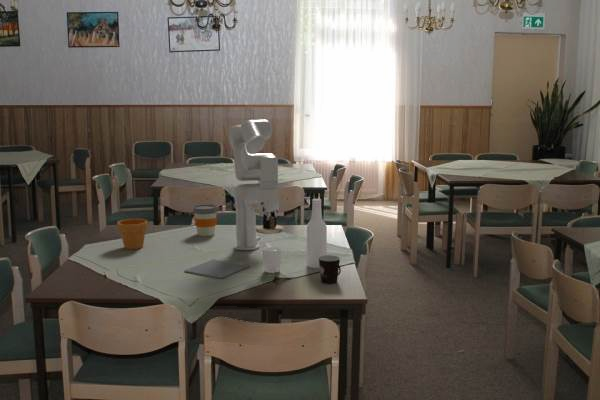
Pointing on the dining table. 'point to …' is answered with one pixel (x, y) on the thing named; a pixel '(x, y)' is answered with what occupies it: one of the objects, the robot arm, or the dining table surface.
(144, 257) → the dining table surface
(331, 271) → the coffee mug
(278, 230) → the lid
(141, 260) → the dining table surface
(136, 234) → the flower pot
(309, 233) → the alcohol
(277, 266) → the white cup
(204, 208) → the reusable coffee cup
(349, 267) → the dining table surface
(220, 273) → the mat
